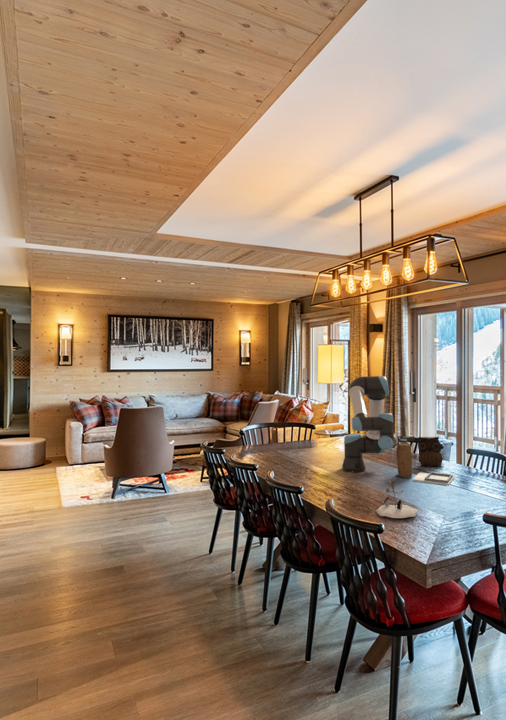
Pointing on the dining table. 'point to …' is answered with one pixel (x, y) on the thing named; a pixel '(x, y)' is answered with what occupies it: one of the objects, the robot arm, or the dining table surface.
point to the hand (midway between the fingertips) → (399, 436)
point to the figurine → (395, 507)
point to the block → (404, 460)
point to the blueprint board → (434, 478)
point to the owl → (429, 452)
